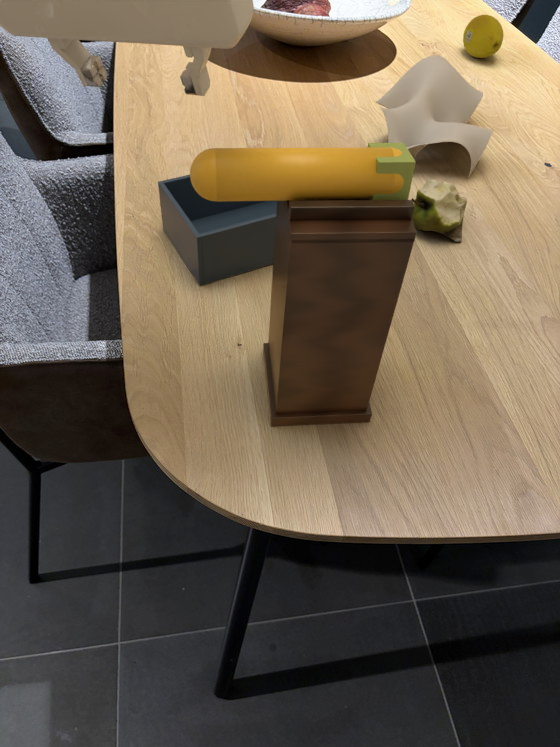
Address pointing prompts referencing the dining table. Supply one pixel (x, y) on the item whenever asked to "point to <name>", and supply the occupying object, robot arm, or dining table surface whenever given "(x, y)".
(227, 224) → the blue-grey open box
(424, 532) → the dining table surface
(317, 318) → the pedestal
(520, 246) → the dining table surface
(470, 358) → the dining table surface
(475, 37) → the lemon
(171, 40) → the robot arm
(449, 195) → the fruit
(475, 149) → the sculpture
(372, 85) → the dining table surface
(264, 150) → the corn cob
